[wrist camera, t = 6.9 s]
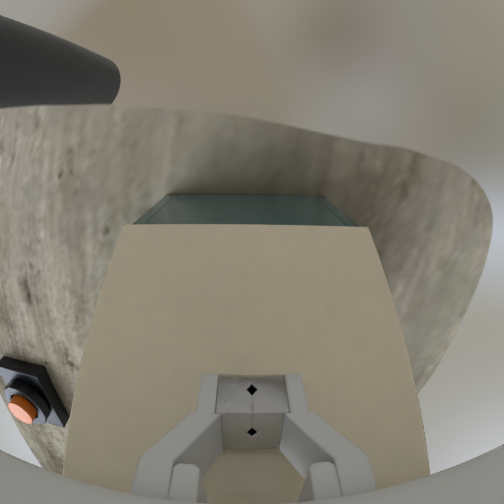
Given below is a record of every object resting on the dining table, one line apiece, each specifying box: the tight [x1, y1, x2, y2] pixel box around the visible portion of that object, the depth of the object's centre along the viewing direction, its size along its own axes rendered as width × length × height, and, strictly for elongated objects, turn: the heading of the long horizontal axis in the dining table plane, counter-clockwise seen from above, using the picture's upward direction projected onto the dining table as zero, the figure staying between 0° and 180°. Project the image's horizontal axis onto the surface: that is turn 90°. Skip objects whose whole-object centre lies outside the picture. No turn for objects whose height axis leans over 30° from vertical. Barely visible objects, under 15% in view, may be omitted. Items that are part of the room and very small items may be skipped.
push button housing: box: [0, 356, 69, 427], centre depth 31 cm, size 10×8×4 cm
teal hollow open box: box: [133, 194, 360, 227], centre depth 23 cm, size 15×13×9 cm
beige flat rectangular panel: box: [63, 224, 430, 504], centre depth 10 cm, size 15×13×1 cm
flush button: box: [8, 395, 37, 424], centre depth 28 cm, size 4×4×2 cm
